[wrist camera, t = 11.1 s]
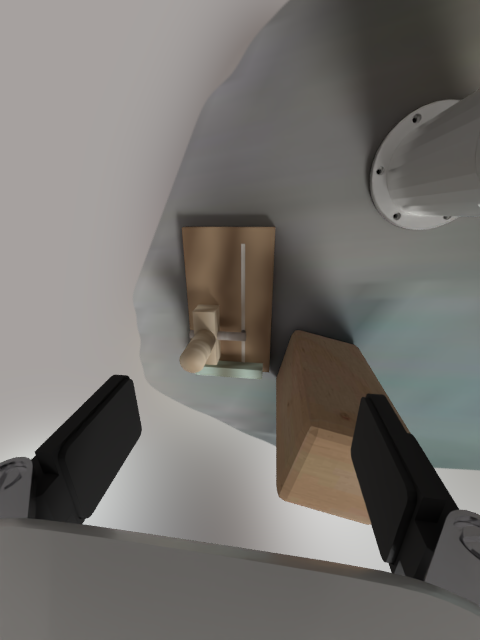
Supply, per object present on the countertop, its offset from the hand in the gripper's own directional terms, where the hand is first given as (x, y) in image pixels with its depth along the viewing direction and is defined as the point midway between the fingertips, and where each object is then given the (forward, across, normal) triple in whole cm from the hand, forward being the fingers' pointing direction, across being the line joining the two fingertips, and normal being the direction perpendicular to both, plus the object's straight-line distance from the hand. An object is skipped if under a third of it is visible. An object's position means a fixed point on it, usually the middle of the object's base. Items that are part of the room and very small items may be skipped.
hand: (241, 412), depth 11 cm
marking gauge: (+26, +6, +8) cm, 28 cm away
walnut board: (+28, +5, +4) cm, 29 cm away
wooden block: (+28, -8, +14) cm, 33 cm away
